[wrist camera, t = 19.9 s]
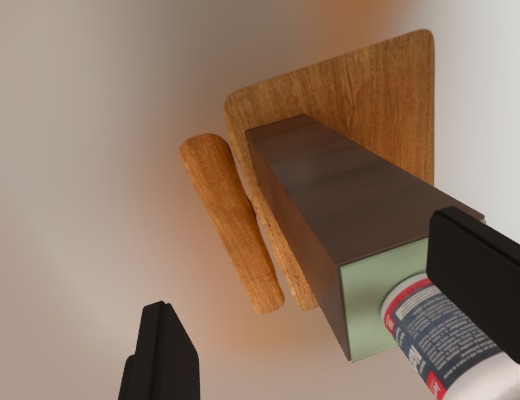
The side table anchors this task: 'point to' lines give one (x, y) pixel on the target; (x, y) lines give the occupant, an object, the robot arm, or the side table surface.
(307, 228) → the front stand
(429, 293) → the pill bottle
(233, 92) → the side table surface
